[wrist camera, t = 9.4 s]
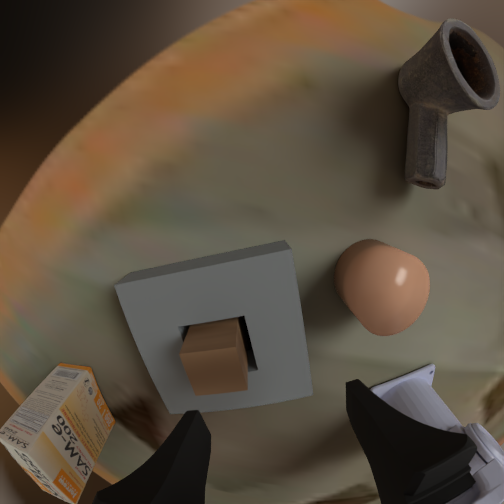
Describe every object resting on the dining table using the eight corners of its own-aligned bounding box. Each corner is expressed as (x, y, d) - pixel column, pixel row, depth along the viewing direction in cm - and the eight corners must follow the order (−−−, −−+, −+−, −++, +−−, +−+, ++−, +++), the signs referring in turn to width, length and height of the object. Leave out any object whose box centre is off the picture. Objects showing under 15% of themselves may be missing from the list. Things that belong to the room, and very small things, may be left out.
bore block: (306, 373, 22) (313, 394, 19) (176, 392, 23) (170, 413, 20) (284, 240, 20) (291, 249, 17) (130, 272, 20) (114, 285, 17)
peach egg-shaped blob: (396, 297, 21) (427, 322, 16) (337, 314, 21) (359, 345, 16) (393, 233, 20) (429, 245, 15) (329, 247, 20) (353, 264, 15)
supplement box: (118, 421, 24) (79, 508, 11) (85, 414, 24) (42, 490, 11) (92, 364, 22) (27, 455, 9) (59, 359, 22) (-8, 435, 9)
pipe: (378, 175, 19) (444, 171, 11) (388, 42, 16) (434, 0, 8) (436, 195, 19) (503, 202, 11) (441, 69, 16) (494, 43, 9)
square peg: (247, 342, 21) (247, 390, 16) (206, 348, 21) (195, 395, 16) (238, 304, 21) (235, 346, 15) (195, 311, 21) (178, 354, 15)
